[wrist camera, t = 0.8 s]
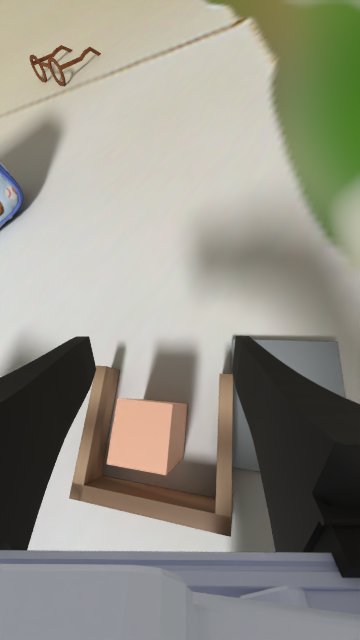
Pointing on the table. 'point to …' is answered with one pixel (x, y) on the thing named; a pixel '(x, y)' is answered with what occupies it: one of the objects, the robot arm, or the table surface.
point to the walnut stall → (146, 497)
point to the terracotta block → (148, 435)
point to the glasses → (50, 59)
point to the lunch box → (8, 195)
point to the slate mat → (304, 358)
